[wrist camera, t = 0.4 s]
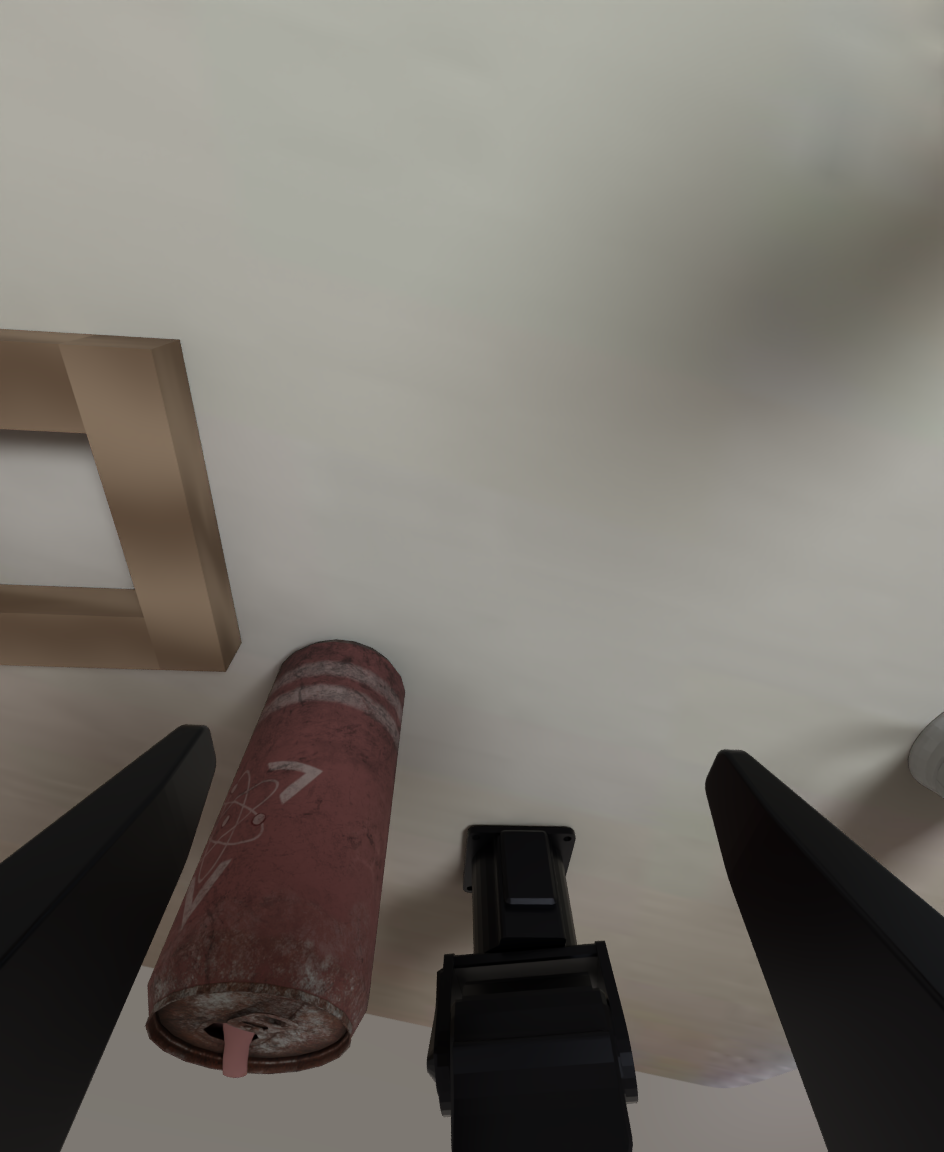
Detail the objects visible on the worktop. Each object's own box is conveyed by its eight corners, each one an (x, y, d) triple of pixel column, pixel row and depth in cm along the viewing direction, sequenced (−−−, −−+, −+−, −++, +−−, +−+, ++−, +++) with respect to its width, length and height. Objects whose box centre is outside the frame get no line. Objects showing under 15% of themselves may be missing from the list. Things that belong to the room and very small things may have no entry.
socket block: (241, 642, 25) (225, 671, 23) (-53, 633, 24) (-91, 662, 23) (179, 339, 18) (151, 349, 17) (-229, 315, 18) (-303, 322, 16)
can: (279, 723, 28) (145, 1083, 16) (280, 625, 25) (113, 984, 13) (397, 737, 29) (353, 1090, 17) (413, 643, 25) (373, 999, 13)
